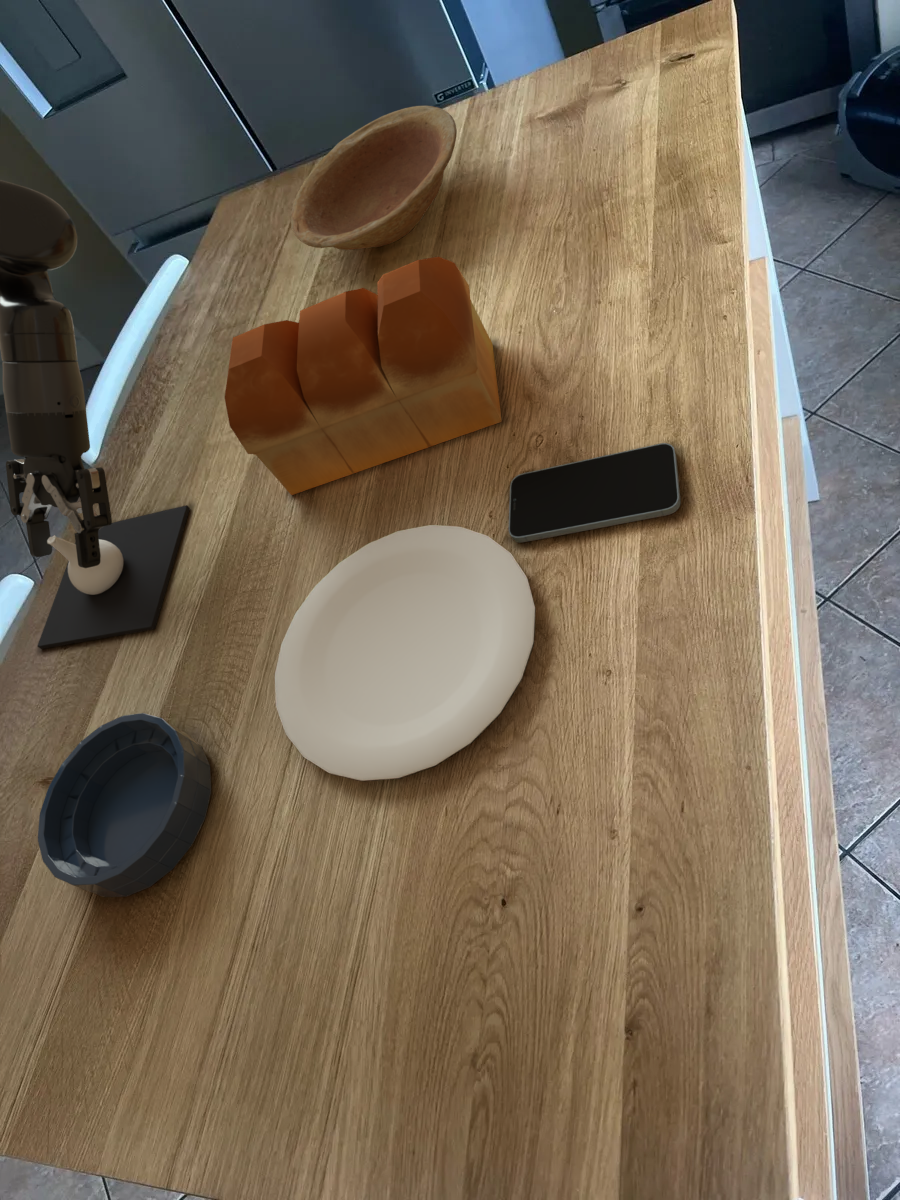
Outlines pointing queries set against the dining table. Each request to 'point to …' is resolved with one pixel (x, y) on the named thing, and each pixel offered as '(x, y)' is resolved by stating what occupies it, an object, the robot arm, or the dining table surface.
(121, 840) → the glazed bowl
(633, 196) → the dining table surface
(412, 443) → the bread
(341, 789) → the dining table surface
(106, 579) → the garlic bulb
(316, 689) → the plate
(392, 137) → the bowl
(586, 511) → the smartphone
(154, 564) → the mat
